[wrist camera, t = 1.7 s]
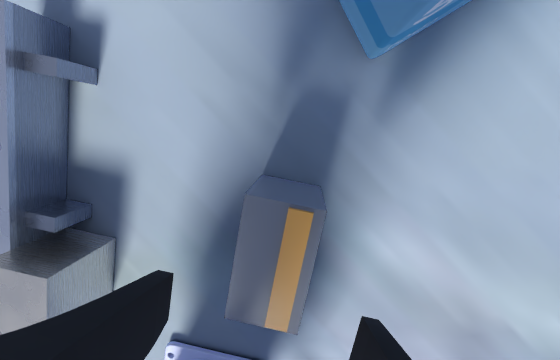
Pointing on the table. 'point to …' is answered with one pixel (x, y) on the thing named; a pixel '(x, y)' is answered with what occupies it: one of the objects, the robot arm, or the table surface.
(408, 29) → the data package
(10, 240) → the rail
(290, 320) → the block
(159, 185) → the table surface
